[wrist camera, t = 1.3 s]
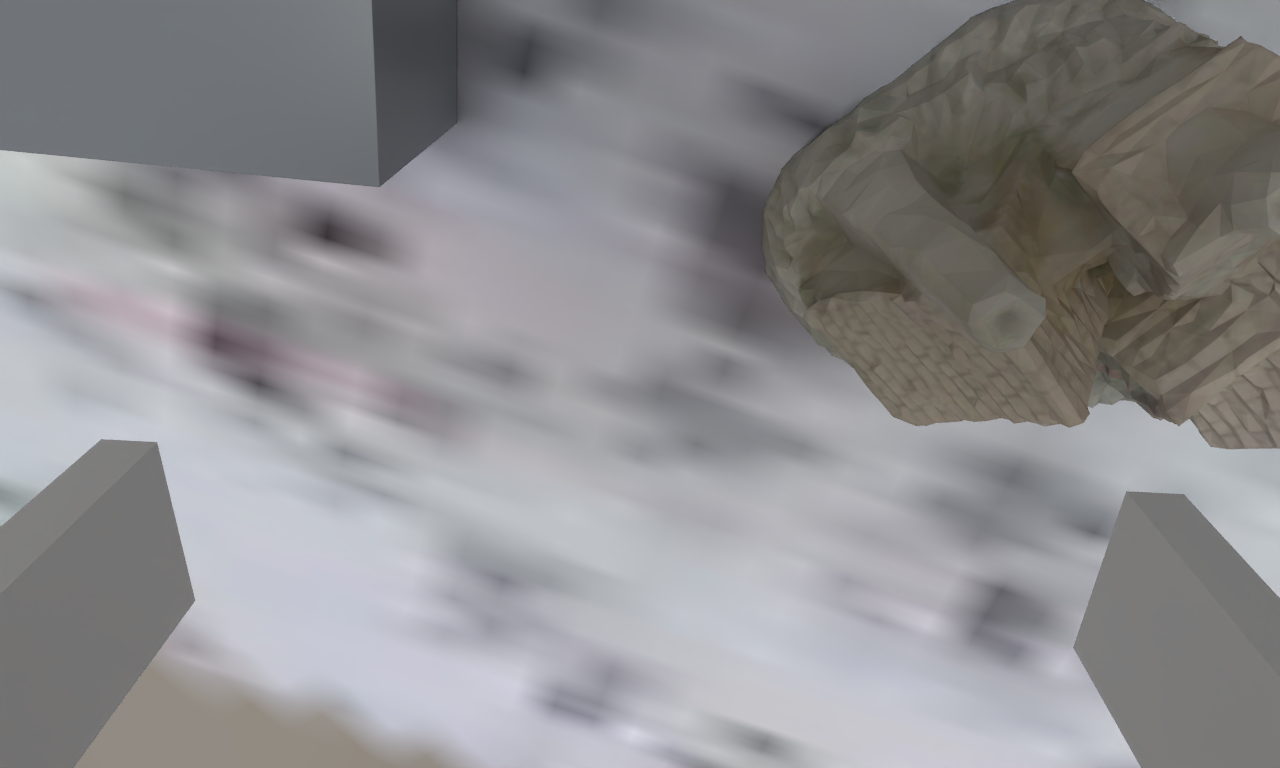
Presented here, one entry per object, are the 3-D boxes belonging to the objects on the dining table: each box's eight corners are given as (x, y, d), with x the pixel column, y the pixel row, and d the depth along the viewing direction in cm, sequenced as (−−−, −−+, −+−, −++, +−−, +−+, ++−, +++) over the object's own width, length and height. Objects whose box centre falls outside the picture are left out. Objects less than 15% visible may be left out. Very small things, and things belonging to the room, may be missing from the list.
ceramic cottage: (706, 170, 30) (787, 378, 17) (1186, -114, 26) (1768, -132, 13) (887, 490, 37) (1046, 819, 23) (1290, 298, 33) (1747, 558, 20)
